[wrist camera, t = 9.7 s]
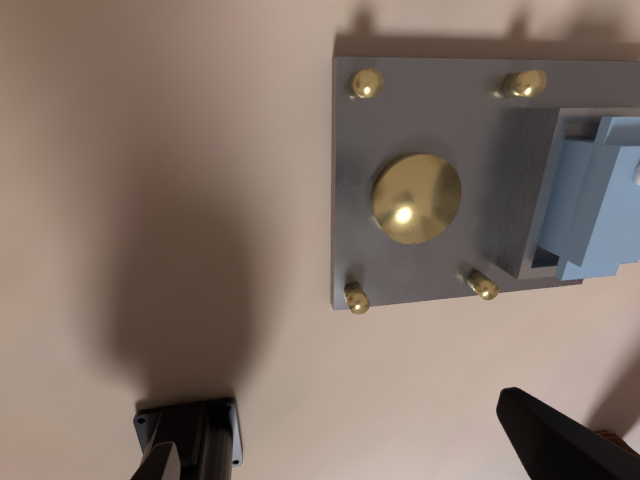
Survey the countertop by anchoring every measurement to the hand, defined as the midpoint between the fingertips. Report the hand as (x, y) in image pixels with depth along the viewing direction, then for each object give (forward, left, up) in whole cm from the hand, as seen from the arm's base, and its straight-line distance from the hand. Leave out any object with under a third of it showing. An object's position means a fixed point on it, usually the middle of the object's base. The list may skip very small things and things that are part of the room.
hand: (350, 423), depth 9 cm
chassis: (+3, -11, -12) cm, 17 cm away
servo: (+3, -16, -11) cm, 19 cm away
